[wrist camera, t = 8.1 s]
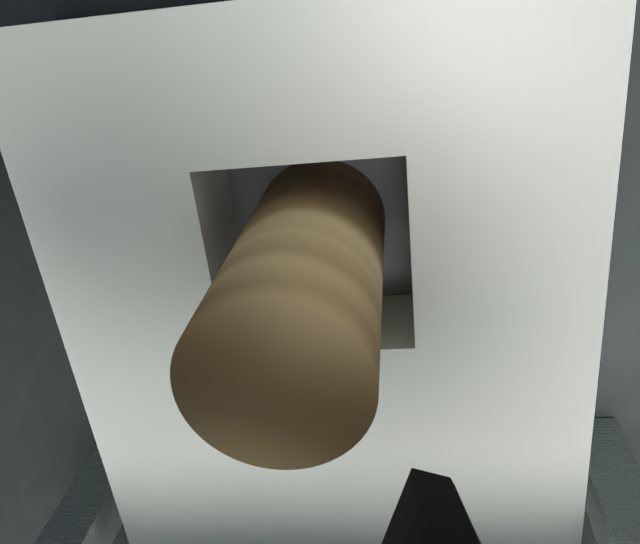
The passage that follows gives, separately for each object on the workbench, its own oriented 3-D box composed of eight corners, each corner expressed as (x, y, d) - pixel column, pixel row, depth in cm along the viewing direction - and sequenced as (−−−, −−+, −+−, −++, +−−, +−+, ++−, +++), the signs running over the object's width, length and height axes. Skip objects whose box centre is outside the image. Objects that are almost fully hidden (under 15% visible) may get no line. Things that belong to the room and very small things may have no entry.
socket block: (52, 20, 17) (-39, 31, 13) (582, -41, 15) (641, -47, 11) (191, 539, 25) (158, 631, 22) (543, 544, 23) (570, 647, 20)
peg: (269, 146, 17) (178, 275, 10) (398, 173, 17) (402, 324, 10) (252, 261, 18) (162, 445, 11) (369, 287, 18) (354, 488, 11)
